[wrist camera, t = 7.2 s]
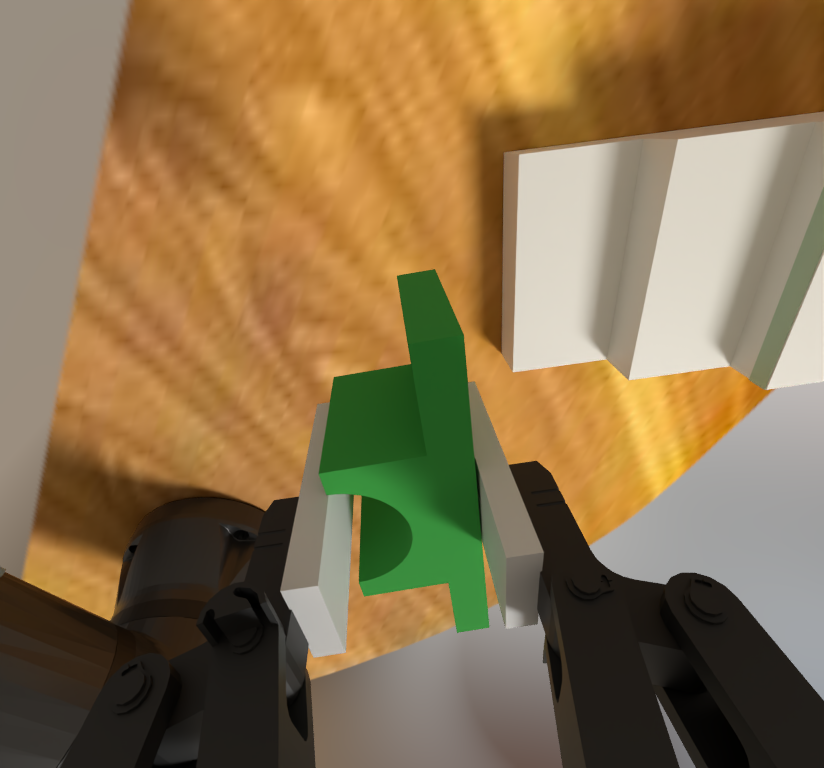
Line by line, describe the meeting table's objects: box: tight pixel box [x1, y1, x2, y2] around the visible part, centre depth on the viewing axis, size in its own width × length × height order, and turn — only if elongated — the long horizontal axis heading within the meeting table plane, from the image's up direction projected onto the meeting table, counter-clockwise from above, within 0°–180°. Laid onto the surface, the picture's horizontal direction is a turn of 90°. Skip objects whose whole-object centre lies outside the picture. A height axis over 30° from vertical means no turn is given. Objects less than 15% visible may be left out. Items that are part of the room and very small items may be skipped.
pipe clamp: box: [318, 269, 489, 633], centre depth 13 cm, size 11×4×5 cm, turn 9°
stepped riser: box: [502, 112, 824, 390], centre depth 25 cm, size 24×14×9 cm, turn 96°
